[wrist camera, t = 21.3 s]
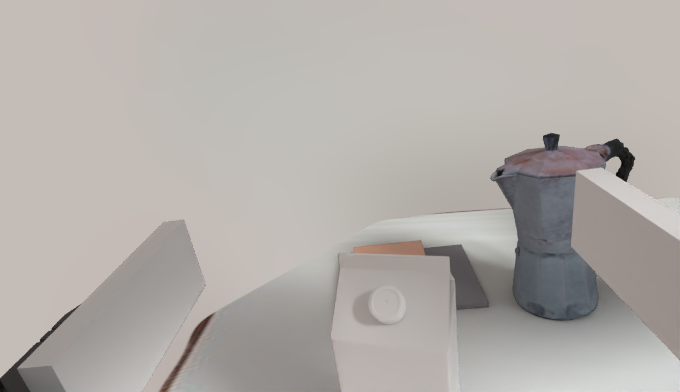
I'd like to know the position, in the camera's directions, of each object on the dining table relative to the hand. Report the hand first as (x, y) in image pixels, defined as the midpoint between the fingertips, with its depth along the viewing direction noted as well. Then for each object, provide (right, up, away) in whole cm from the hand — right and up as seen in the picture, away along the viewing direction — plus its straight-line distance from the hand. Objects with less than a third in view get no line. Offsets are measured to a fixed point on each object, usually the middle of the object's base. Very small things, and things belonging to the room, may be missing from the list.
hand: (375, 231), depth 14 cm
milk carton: (+5, -20, +19) cm, 28 cm away
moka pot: (+24, -11, +35) cm, 44 cm away
